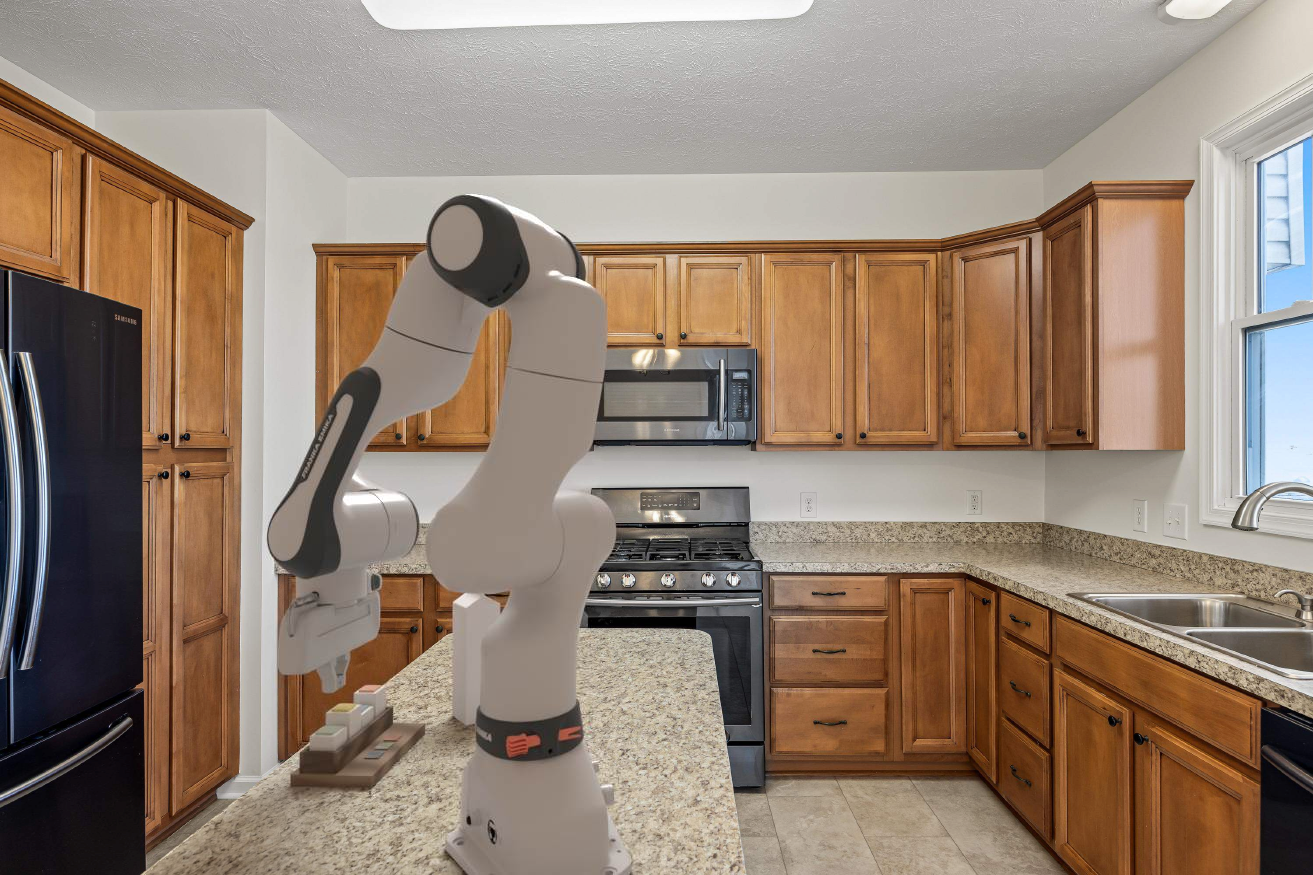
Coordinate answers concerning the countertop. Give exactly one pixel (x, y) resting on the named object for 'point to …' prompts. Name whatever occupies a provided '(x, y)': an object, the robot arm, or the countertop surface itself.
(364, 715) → the key slate
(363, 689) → the key terracotta
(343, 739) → the key sage
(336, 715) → the key mustard
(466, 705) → the milk
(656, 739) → the countertop surface
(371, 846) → the countertop surface
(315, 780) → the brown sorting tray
